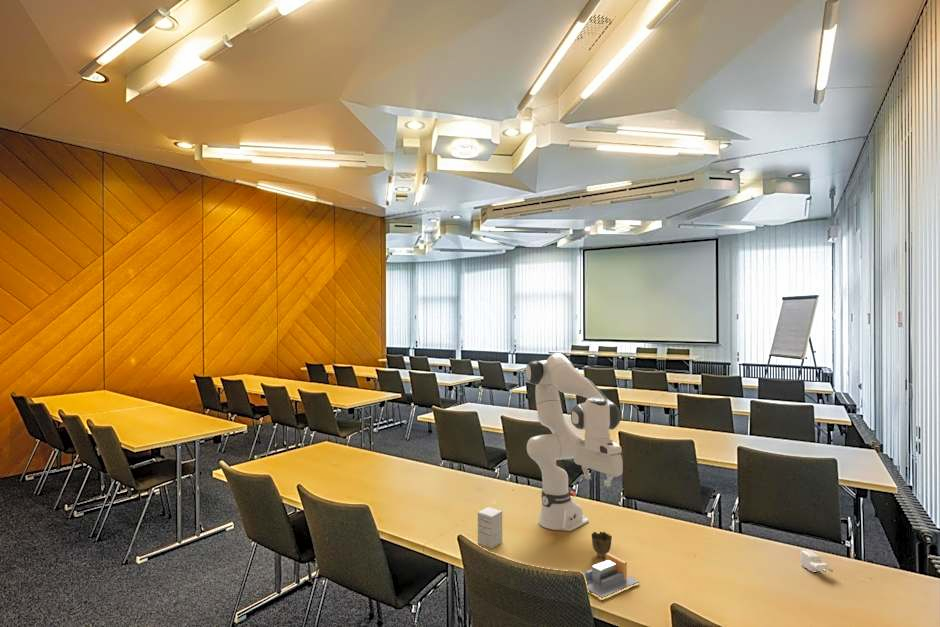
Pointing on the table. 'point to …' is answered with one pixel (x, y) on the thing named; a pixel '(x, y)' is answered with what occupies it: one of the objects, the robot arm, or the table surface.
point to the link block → (603, 571)
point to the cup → (601, 543)
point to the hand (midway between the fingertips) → (597, 482)
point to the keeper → (611, 579)
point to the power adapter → (813, 561)
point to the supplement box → (489, 527)
